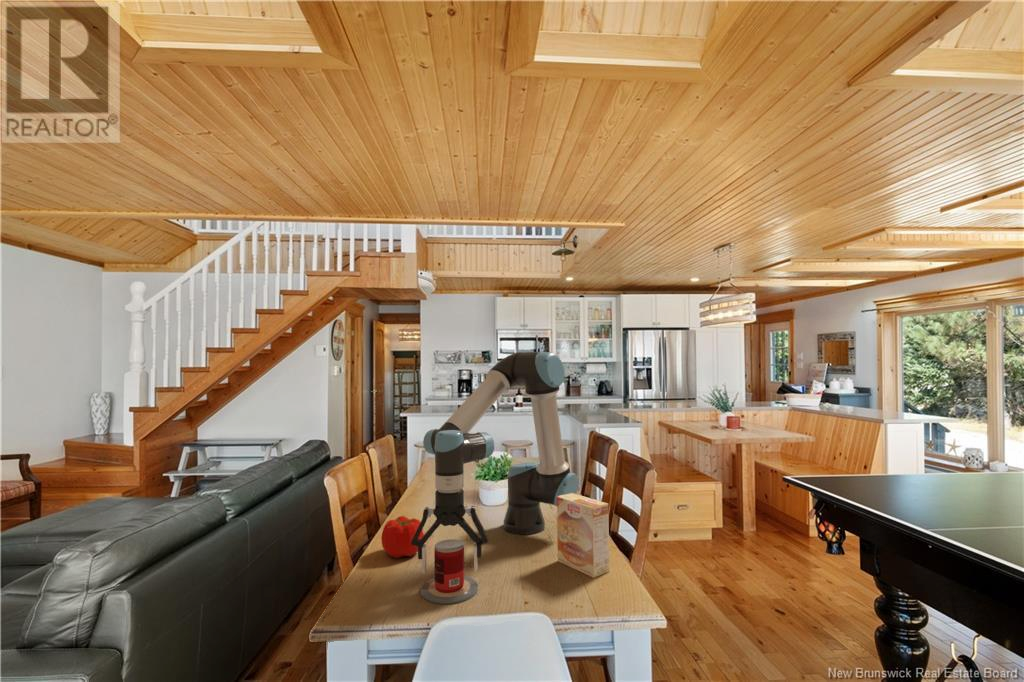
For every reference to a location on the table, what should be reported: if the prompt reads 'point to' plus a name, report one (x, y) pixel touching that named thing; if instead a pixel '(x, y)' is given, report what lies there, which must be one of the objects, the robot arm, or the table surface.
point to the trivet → (449, 598)
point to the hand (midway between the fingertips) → (450, 570)
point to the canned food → (449, 565)
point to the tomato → (400, 536)
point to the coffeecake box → (583, 534)
